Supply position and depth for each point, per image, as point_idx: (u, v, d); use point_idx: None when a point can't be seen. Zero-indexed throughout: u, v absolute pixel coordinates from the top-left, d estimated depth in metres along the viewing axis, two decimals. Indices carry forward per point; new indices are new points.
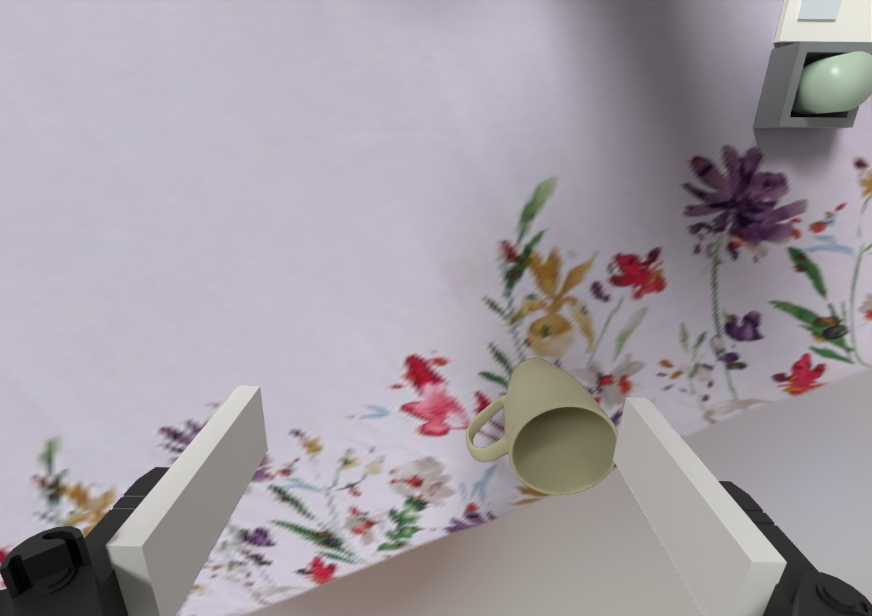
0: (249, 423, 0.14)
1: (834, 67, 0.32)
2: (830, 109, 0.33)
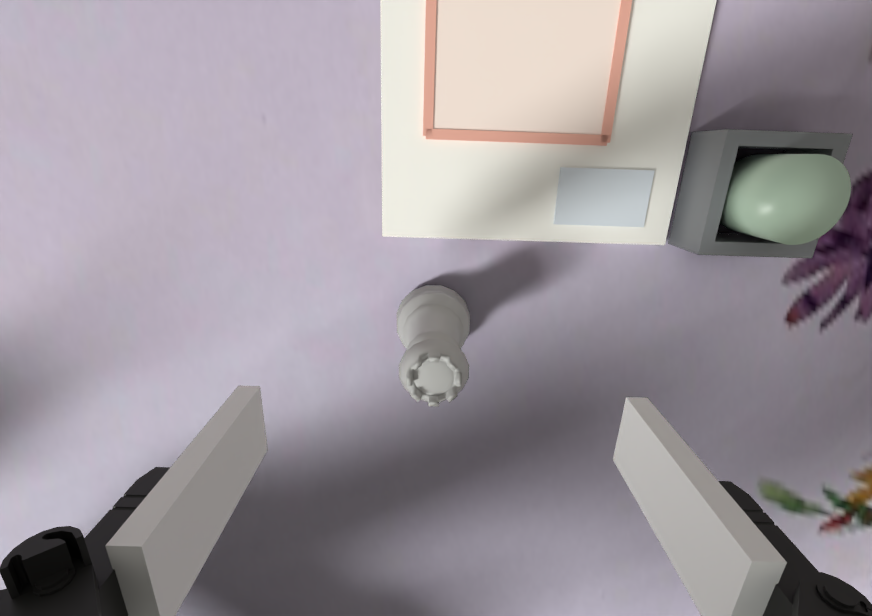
0: (249, 423, 0.14)
1: (775, 233, 0.20)
2: None
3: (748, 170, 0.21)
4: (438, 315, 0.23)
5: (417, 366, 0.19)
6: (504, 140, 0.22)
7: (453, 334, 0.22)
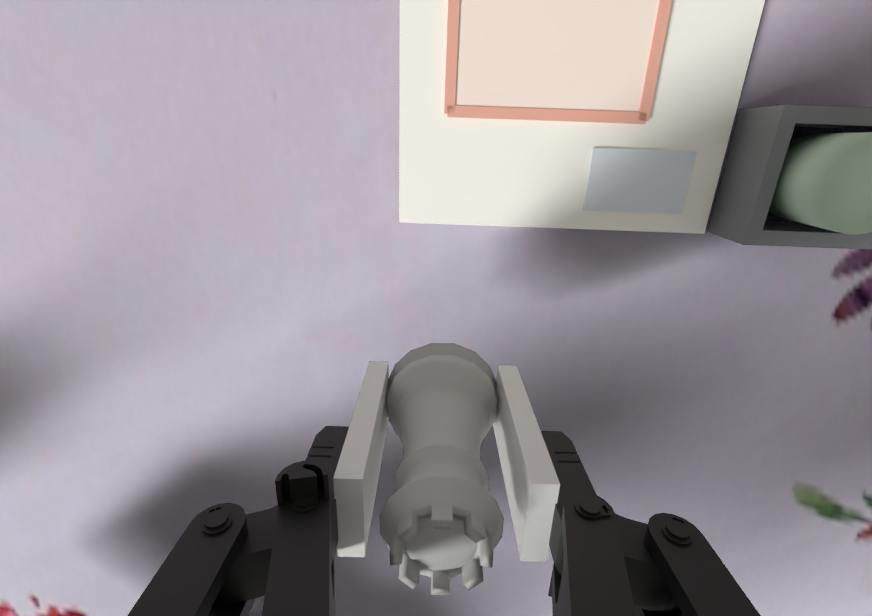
0: (385, 393, 0.16)
1: (834, 221, 0.18)
2: None
3: (805, 151, 0.19)
4: (449, 401, 0.14)
5: (410, 535, 0.10)
6: (532, 118, 0.21)
7: (474, 438, 0.14)
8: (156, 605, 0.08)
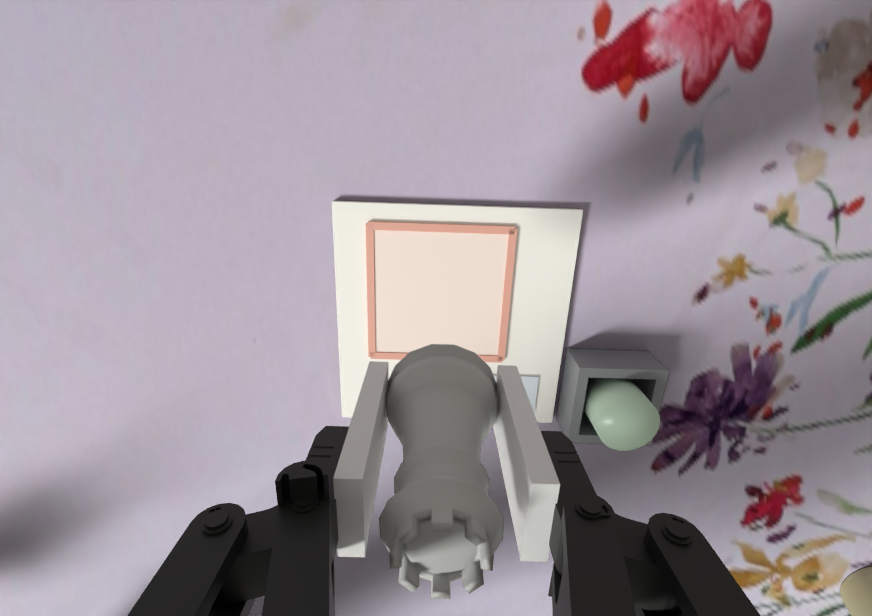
0: (385, 393, 0.16)
1: (610, 444, 0.29)
2: None
3: (596, 393, 0.29)
4: (449, 403, 0.14)
5: (410, 538, 0.10)
6: None
7: (474, 439, 0.14)
8: (156, 605, 0.08)
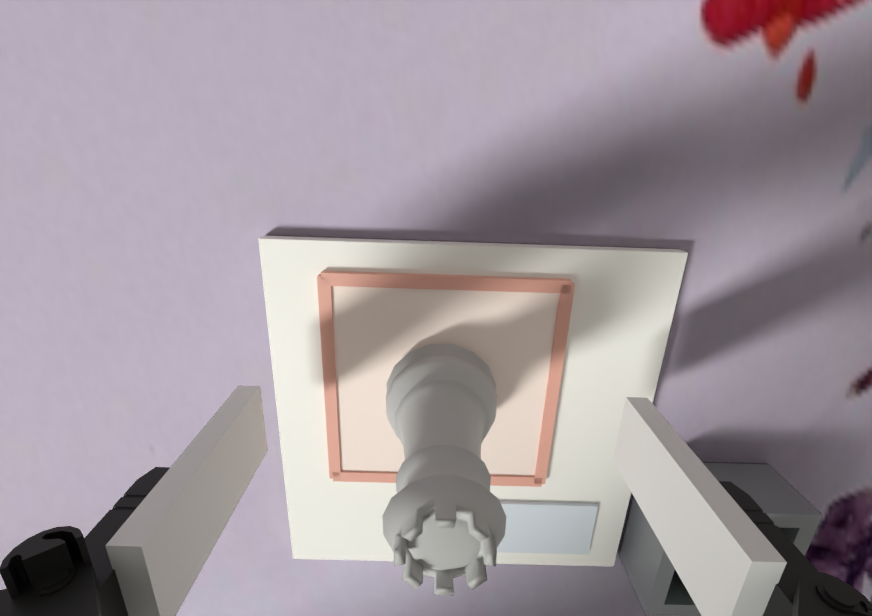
0: (249, 423, 0.14)
1: None
2: None
3: None
4: (449, 402, 0.14)
5: (414, 535, 0.10)
6: None
7: (474, 438, 0.14)
8: None
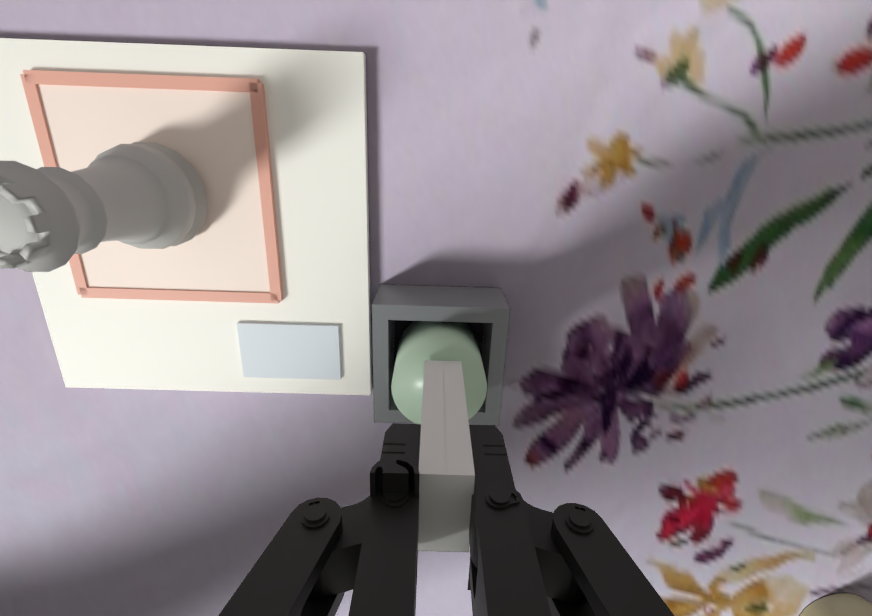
0: None
1: (416, 418, 0.19)
2: None
3: (404, 342, 0.20)
4: (108, 165, 0.16)
5: None
6: (166, 299, 0.21)
7: (115, 187, 0.15)
8: (258, 590, 0.08)
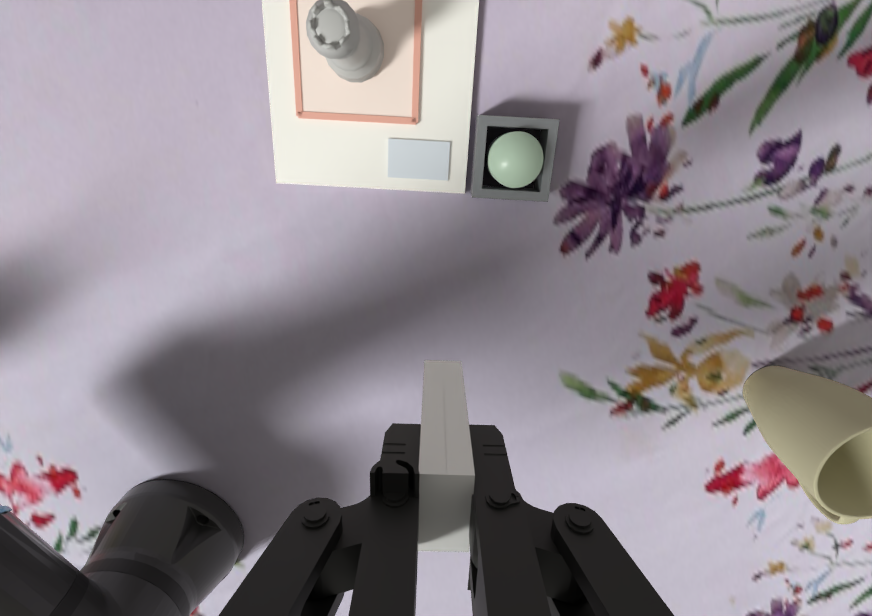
0: None
1: (501, 180, 0.33)
2: None
3: (494, 141, 0.34)
4: None
5: (315, 9, 0.25)
6: (348, 120, 0.35)
7: None
8: (258, 590, 0.08)
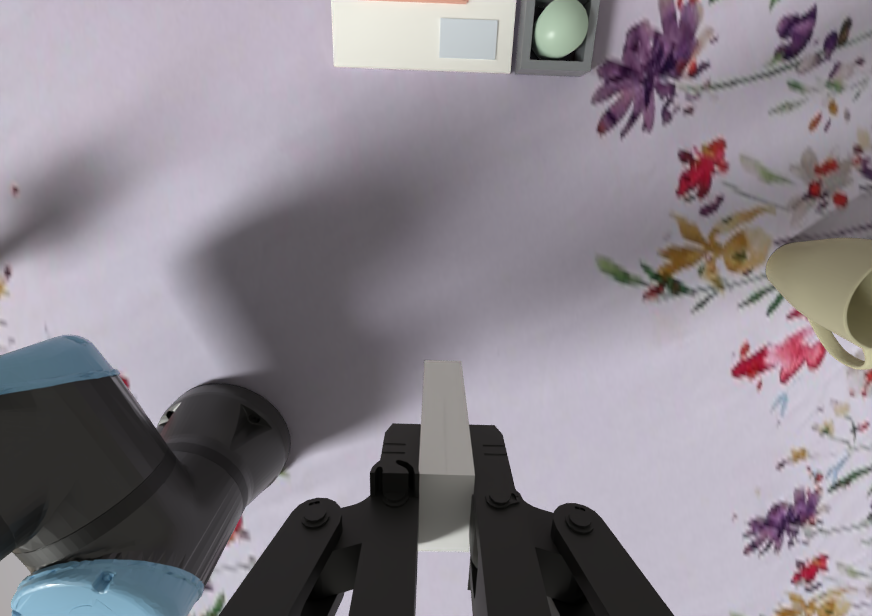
0: None
1: (549, 46, 0.36)
2: None
3: None
4: None
5: None
6: None
7: None
8: (258, 590, 0.08)
